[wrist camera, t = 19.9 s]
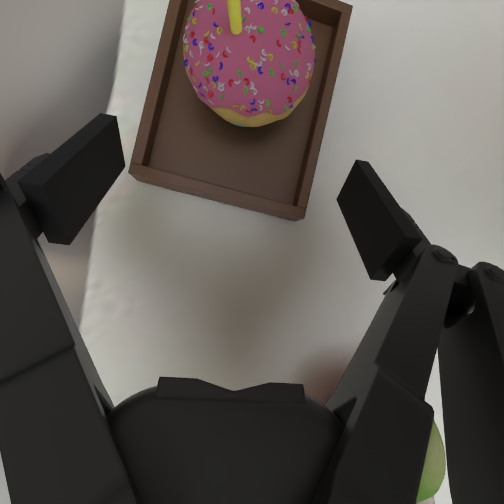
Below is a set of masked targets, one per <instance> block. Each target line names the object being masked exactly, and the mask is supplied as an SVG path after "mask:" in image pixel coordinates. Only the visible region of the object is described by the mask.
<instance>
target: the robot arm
mask: <svg viewBox="0 0 504 504" xmlns="http://www.w3.org/2000/svg"><path fill="white" fill-rule="evenodd" d="M124 168H125V161H124V156H123V150H122V144H121V139H120V133H119V128H118V122H117V117H116V116H113V115H107V114H101V113H100V114H99V115H98V116H97V117H95V118H94V119H93V120H92V121H90V122H89V123H88V124H87V125H85V126H84V127H83V128H82V129H81V130H79V131H78V132H77V133H76V134H74V135H73V136H72V137H71V138H70V139H68V140H67V141H66V142H65V143H63V144H62V145H61V146H60V147H59V148H58V149H56V150H55V151H54V152H52V153H51V154H49V153H46V154H43V155H40V156H38V157H35V158H33V159H32V160H31V161H29V162H28V163H27V164H26V165H24V166H23V167H22V168H20V171H16V172H15V173H14V174H13V175H11V176H10V177H9V178H7V179H6V180H5V181H4V179H3V177H2V175H1V174H0V452H1V457H2V462H3V466H4V471H5V476H6V481H7V486H8V490H9V495H10V500H11V504H416V500H417V495H418V491H419V486H420V481H421V477H422V472H423V467H424V463H425V458H426V453H427V449H428V444H429V439H430V435H431V430H432V425H433V420H434V410H433V408H432V406H431V405H429V404H428V403H427V402H425V394H426V390H427V386H428V382H429V378H430V374H431V370H432V366H433V362H434V358H435V354H436V350H437V347H438V359H439V372H440V384H441V396H442V408H443V421H444V433H445V445H446V458H447V470H448V478H449V486H450V493H451V498H452V503H453V504H504V271H503V270H502V269H500V268H499V267H497V266H494V265H492V264H490V263H487V262H479V263H477V264H476V265H475V266H474V267H472V268H468V267H465V266H462V265H459V264H458V260H457V259H456V257H455V256H454V255H453V254H452V253H451V252H449V251H448V250H446V249H445V248H442V247H440V246H437V245H431V243H430V242H429V241H428V239H427V238H426V236H425V235H424V234H423V232H422V231H421V230H420V229H419V227H418V225H417V224H416V223H415V221H414V220H413V219H412V217H411V216H410V215H409V214H408V213H407V212H406V211H405V210H403V209H402V208H401V207H400V206H399V205H398V203H397V202H396V200H395V199H394V198H393V196H392V195H391V193H390V192H389V190H388V189H387V188H386V186H385V185H384V183H383V182H382V181H381V179H380V178H379V176H378V175H377V174H376V172H375V171H374V169H373V168H372V166H371V165H370V164H369V162H366V161H361V160H356V161H355V163H354V165H353V167H352V169H351V171H350V173H349V175H348V177H347V179H346V181H345V183H344V185H343V187H342V189H341V191H340V193H339V195H338V197H337V199H336V200H337V202H338V204H339V207H340V209H341V211H342V214H343V216H344V218H345V221H346V223H347V226H348V228H349V230H350V233H351V235H352V237H353V240H354V242H355V244H356V247H357V249H358V251H359V254H360V256H361V258H362V261H363V263H364V266H365V268H366V270H367V273H368V275H369V277H370V280H379V281H386V280H387V279H388V278H389V276H390V275H391V274H392V273H393V274H394V276H395V278H396V280H395V281H394V282H393V283H392V284H391V285H390V286H389V288H388V289H387V290H386V291H385V292H384V293H383V294H384V295H386V296H385V298H384V299H383V301H382V303H381V305H380V307H379V309H378V311H377V313H376V314H375V316H374V318H373V320H372V322H371V324H370V326H369V328H368V330H367V331H366V333H365V335H364V337H363V339H362V341H361V343H360V345H359V347H358V348H357V350H356V352H355V354H354V356H353V358H352V360H351V362H350V363H349V365H348V367H347V369H346V371H345V373H344V375H343V377H342V379H341V380H340V382H339V384H338V386H337V388H336V390H335V392H334V393H333V395H332V396H331V398H330V399H329V400H328V401H327V402H326V404H325V405H323V404H322V403H320V402H319V401H317V400H316V399H314V398H312V397H310V396H308V395H306V394H304V386H303V384H290V383H271V382H270V383H266V384H262V385H258V386H254V387H250V388H245V389H241V390H237V391H231V390H228V389H225V388H222V387H220V386H217V385H214V384H211V383H208V382H205V381H202V380H199V379H194V378H175V377H159V381H158V385H157V386H155V387H151V388H148V389H146V390H143V391H140V392H138V393H136V394H134V395H132V396H130V397H129V398H127V399H126V400H124V401H122V402H121V403H120V404H118V405H117V406H116V407H114V405H113V403H112V401H111V399H110V397H109V395H108V393H107V391H106V389H105V387H104V385H103V383H102V381H101V379H100V377H99V375H98V372H97V370H96V368H95V366H94V364H93V361H92V359H91V357H90V355H89V352H88V350H87V348H86V346H85V343H84V341H83V339H82V337H81V334H80V332H79V330H78V328H77V326H76V323H75V321H74V319H73V317H72V314H71V312H70V310H69V308H68V306H67V303H66V301H65V299H64V296H63V294H62V292H61V290H60V288H59V285H58V283H57V281H56V279H55V277H54V274H53V272H52V270H51V267H50V265H49V263H48V261H47V258H46V256H45V254H44V252H43V250H42V247H41V245H40V243H39V242H38V240H37V238H38V237H39V236H40V235H41V233H42V232H44V234H45V236H46V238H47V240H48V242H49V243H56V244H64V245H70V244H71V242H72V241H73V240H74V238H75V237H76V235H77V234H78V232H79V231H80V230H81V228H82V227H83V226H84V224H85V223H86V221H87V220H88V219H89V217H90V216H91V214H92V213H93V211H94V210H95V209H96V207H97V206H98V204H99V203H100V202H101V200H102V199H103V197H104V196H105V195H106V193H107V192H108V190H109V189H110V187H111V186H112V185H113V183H114V182H115V180H116V179H117V178H118V176H119V175H120V173H121V172H122V171H123V169H124Z"/></svg>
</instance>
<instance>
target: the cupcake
mask: <svg viewBox="0 0 504 504" xmlns="http://www.w3.org/2000/svg"><path fill="white" fill-rule="evenodd" d="M196 3H197V4H196ZM195 4H196V5H195V7H194V8H193V10H192V11H191V13H190V15H189V17H188V18H187V21H186V27H185V33H184V37H183V41H184V45H183V51H184V65H185V69H186V73H187V75H188V77H189V79H190V81H191V83H192V86H193V88H194V90H195V92H196V94H197V95H198V97H199V98H200V100H201V101H203V102H204V103H205V104H206V105H208V106H209V107H210V108H211V109H212V110H213V111H214V112H215V113H217V114H218V115H219V116H220V117H222V118H223V119H224V120H226V121H228V122H230V123H231V124H234V125H236V126H240V127H258V126H263V125H266V124H269V123H272V122H274V121H277V120H281V119H284V118H286V117H287V116H288V115H289V114H290V113H291V112H292V111H293V110H294V109H295V107H296V106H297V105H298V104H299V103H300V102H301V100H302V99H303V98H304V96H305V95H306V92H307V90H308V87H309V84H310V80H311V76H312V73H313V68H314V63H316V60H315V48H316V47H315V45H314V38H313V36H312V34H311V29H310V27H311V22H310V21H308V22H307V17H306V16H305V17H304V15H303V13H302V12H301V9H300V8H299V4H298V3H297V2H296V1H295V0H197V1H195ZM297 5H298V6H297ZM309 23H310V24H309ZM308 24H309V25H310V26H309V25H308Z"/></svg>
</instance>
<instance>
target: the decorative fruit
mask: <svg viewBox="0 0 504 504" xmlns="http://www.w3.org/2000/svg"><path fill="white" fill-rule="evenodd" d="M445 468H446V461H445V451H444V446H443V442H442V439H441V435H440V433H439V430H438V428H437V426H436V424H435V421H434V420H433V425H432V430H431V435H430V439H429V444H428V449H427V453H426V458H425V463H424V467H423V472H422V477H421V481H420V486H419V491H418V495H417V500H416V504H435V501H434V495H435V494H436V492H437V491H438V490H439V488H440V486H441V484H442V481H443V479H444V475H445Z"/></svg>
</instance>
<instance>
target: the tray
mask: <svg viewBox="0 0 504 504" xmlns="http://www.w3.org/2000/svg"><path fill="white" fill-rule="evenodd" d="M195 1H197V0H170V1H169V5H168V9H167V13H166V18H165V22H164V26H163V30H162V34H161V38H160V42H159V47H158V51H157V55H156V59H155V63H154V67H153V71H152V76H151V80H150V84H149V88H148V92H147V96H146V101H145V105H144V109H143V113H142V117H141V121H140V125H139V130H138V134H137V138H136V142H135V146H134V150H133V154H132V159H131V163H130V167H129V171H128V173H129V174H131V175H132V176H133V177H134V178H135V179H136V180H138V181H140V182H144V183H148V184H152V185H156V186H160V187H164V188H168V189H171V190H175V191H179V192H183V193H187V194H191V195H195V196H199V197H203V198H207V199H210V200H214V201H218V202H222V203H226V204H230V205H234V206H238V207H242V208H245V209H249V210H253V211H257V212H261V213H265V214H269V215H273V216H277V217H281V218H284V219H288V220H292V221H298V220H300V219H303V218H304V217H305V212H306V208H307V204H308V199H309V195H310V191H311V186H312V182H313V178H314V173H315V169H316V164H317V160H318V156H319V151H320V147H321V143H322V138H323V134H324V130H325V125H326V121H327V116H328V112H329V108H330V103H331V99H332V95H333V90H334V86H335V81H336V77H337V73H338V68H339V64H340V60H341V55H342V51H343V47H344V42H345V38H346V33H347V29H348V25H349V20H350V16H351V12H352V7H353V6H352V5H349V4H346V3H344V2H341V1H339V0H295V1H296V2H297V3H298V4H299V8H300V9H301V12H302V13H303V15H304V17H305V16H306V17H307V22H308V21H310V22H311V27H310V29H311V34H312V36H313V38H314V45H315V47H316V48H315V60H316V63H314V68H313V73H312V76H311V80H310V84H309V87H308V90H307V92H306V95H305V96H304V98H303V99H302V100H301V102H300V103H299V104H298V105H297V106H296V107H295V109H294V110H293V111H292V112H291V113H290V114H289V115H288V116H287V117H286V118H284V119H281V120H277V121H274V122H272V123H269V124H266V125H263V126H258V127H240V126H236V125H234V124H231V123H230V122H228V121H226V120H224V119H223V118H222V117H220V116H219V115H218V114H217V113H215V112H214V111H213V110H212V109H211V108H210V107H209V106H208V105H206V104H205V103H204V102H203V101H201V100H200V98H199V97H198V95H197V94H196V92H195V90H194V88H193V86H192V83H191V81H190V79H189V77H188V75H187V73H186V69H185V65H184V51H183V45H184V41H183V37H184V33H185V27H186V21H187V18H188V17H189V15H190V13H191V11H192V10H193V8H194V7H195V5H196V4H197V3H196V4H195ZM297 6H298V5H297ZM309 24H310V23H309ZM309 24H308V25H309ZM309 26H310V25H309Z"/></svg>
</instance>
